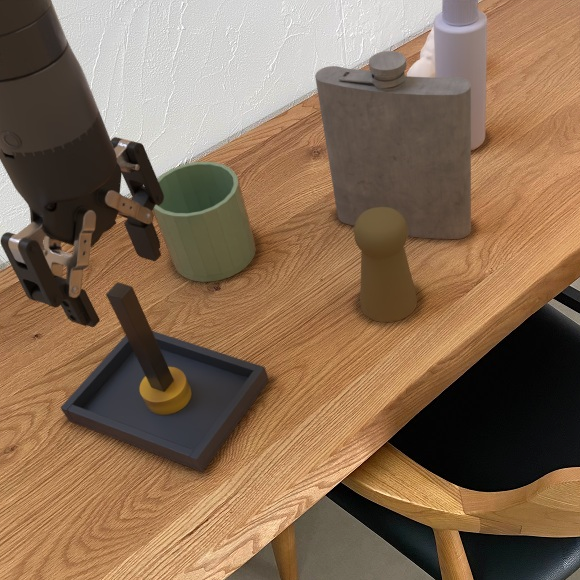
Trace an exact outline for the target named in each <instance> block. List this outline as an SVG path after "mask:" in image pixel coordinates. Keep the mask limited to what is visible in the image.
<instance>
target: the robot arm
mask: <svg viewBox="0 0 580 580" xmlns="http://www.w3.org/2000/svg"><path fill="white" fill-rule="evenodd" d="M71 47H72V46H70V42H69V41H68V39H67V37H66V34H65V32H64V29H63V27H62V23H61V22H60V19H59V17H58V14H57V12H56V9H55V7H54V4H53V1H52V0H0V162H1V164H2V166H3V168H4V170H5V172H6V173H7V175H8V177H9V179H10V181H11V183H12V185H13V186H14V189H15V190H16V191H17V193H18V194H19V195H20V196H21V198H22V199H23V200H24V201H25V203H26V204H27V207H28V208H29V214H30V217H29V218H30V223H29V224H28V225H27V226H25V227H24V228H23V229H22V230H20V231H19V232H18V233H12V232H10V231H6V232H4V233H3V234H2V235H1V237H0V245H1V246H0V247H2V249H3V252H4V253H5V256H6V258H7V259H8V262H9V263H10V265H11V267H12V269H13V271H14V273H15V275H16V278H17V280H18V281H19V283H20V285H21V287H22V290H23V291H24V294H25V296H26V297H27V298H28V299H29V300H32V301H36V302H39V303H42V304H45V305H47V306H50V307H53V308H54V309H55V308H59V307H61V308H62V310H63V312H64V314H65V316H66V317H67V320H69V321H70V322H72V323H74V324H78V325H80V326H84V327H90V328H94V327H96V326H97V325H98V324H99V323H100V320H101V319H100V317H99V315H98V313H97V311H96V309H95V307H94V305H93V303H92V301H91V299H90V297H89V295H88V292H87V291H86V290H85V289H83V288H82V285H83V276H84V270H85V269H86V268H88V267H89V265H90V258H91V249H92V248H93V247H94V246H95V245H96V244H97V243H98V242H99V241H100V239H101V238H102V236H103V234H104V233H106V232H107V231H110V230H111V229H112V228H113V227H115V225H116V224H117V221H116V219H117V217H118V216H120V217H121V218H125V219H126V220H125V221H124V222H123V224H124V227H125V229H126V232H127V234H128V236H129V239H130V241H131V243H132V246H133V248H134V252H135V253H136V255H137V256H139V258H142V259H145V260H148V261H151V262H157V261H158V260H159V259H160V258H161V256H162V252H161V250H160V249H161V242H160V239H159V236H158V233H157V231H156V228H155V225H154V223H153V220H154V218H155V215H154V212H153V209H154V207H155V205H160V204H162V202H163V200H164V194H163V192H162V189H161V187H160V184H159V182H158V180H157V179H158V177H157V175H156V172H155V170H154V168H153V165H152V163H151V161H150V158H149V156H148V152H147V151H146V149H145V146H144V144H143V143H141V142H138V141H134V140H129V139H125V138H121V137H119V136H118V137H117V136H114V137H113V138H111V137H110V135H109V132H108V129H107V128H106V125H105V122H104V120H103V117H102V114H101V112H100V110H99V106H98V104H97V102H96V100H95V99H96V98H95V97H94V94H93V91H92V89H91V87H90V84H89V81H88V79H87V77H86V74H85V72H84V70H83V68H82V66H81V63H80V61H79V59H77V57H76V55H75V52H74V51H73V49H72V48H71ZM122 177H123V179H124V183H125V184H126V186H127V188H128V191H129V192H130V195H131V197H132V198H129V197H126V196H124V195H122V194H121V187H122ZM62 243H64V244H66V245H70V246H73V250H72V253H70V252H67V251H64V249H62V246H61V245H62ZM64 267H65V268H66V273H65V274H66V275H65V277H63V276H64V275H63V274H64Z"/></svg>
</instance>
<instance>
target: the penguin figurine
mask: <svg viewBox="0 0 580 580" xmlns="http://www.w3.org/2000/svg"><path fill="white" fill-rule="evenodd" d="M406 76H409V77H431V78H436V77H435V49H434V25H433V26H432V27H431V30H430V32H429V33H428V35H427V37H426V40H425V42H424V45H423V46H422V47H421V49H420V52H419V59H418V60H416V61H415V62H414V63H413V64H412V65H411V67H410V68H408V71H407V73H406Z"/></svg>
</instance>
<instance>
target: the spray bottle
mask: <svg viewBox="0 0 580 580" xmlns="http://www.w3.org/2000/svg"><path fill="white" fill-rule="evenodd" d="M441 1H442V3H441V5H442V8H441V9H442V10H441V11H440V12H439V13H438V14H437V15H436V16H435V17H434V19H433V26H434V49H435V77H436V78H450V77H458V78H463V79H466V80H467V81H469V82H470V84H471V151H474V150H476V149H478V148H479V147H481V146H482V145H483V144H484V142H485V139H486V132H487V131H486V130H487V129H486V127H487V126H486V125H487V123H486V122H487V120H486V119H487V70H488V69H487V65H488V64H487V63H488V62H487V61H488V59H487V58H488V16H487V14H486V13H484V12H483V11H482V10H481V9H479V0H441Z"/></svg>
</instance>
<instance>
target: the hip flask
mask: <svg viewBox="0 0 580 580" xmlns="http://www.w3.org/2000/svg"><path fill="white" fill-rule="evenodd" d="M407 66H408V65H407V56H406V55H404V54H403V53H402V52H399V51H395V50H393V51H392V50H387V51H379V52H377V53H375V54H373V55H371V57H370V58H369V59H368V68H369V69H368V70H367V69H355V68H346V67H343V66H338V65H329V66H325V67H322V68H320V69H319V70H318V71H316V73H315V75H314V77H315V83H316V89H317V90H316V91H317V96H318V102H319V108H320V114H321V121H322V127H323V133H324V140H325V145H326V152H327V157H328V163H329V164H328V165H329V170H330V176H331V177H330V178H331V182H332V188H333V189H332V190H333V195H334V200H335V207H336V213H337V219H338V220H339V221H340V222H341V223H343V224H346V225H349V226H351V227H354V226H355V223H356V221H357V219H358V217H359V216H360V215H361V214H362V213H363V212H365V211H367V210H369V209H372V208H376V207H389V208H392V209H395V210H396V211H398V212H399V213H400V214H401V215H402V216H403V217H404V219H405V221H406V223H407V228H408V236H407V237H411V238H421V239H436V240H461V239H464V238H466V237H468V236H469V235H470V234H471V232H472V150H471V84H470V82H469V81H467V80H466V79H463V78H458V77H450V78H431V77H409V76H407V75H406V74H405V71H406V69H407Z"/></svg>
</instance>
